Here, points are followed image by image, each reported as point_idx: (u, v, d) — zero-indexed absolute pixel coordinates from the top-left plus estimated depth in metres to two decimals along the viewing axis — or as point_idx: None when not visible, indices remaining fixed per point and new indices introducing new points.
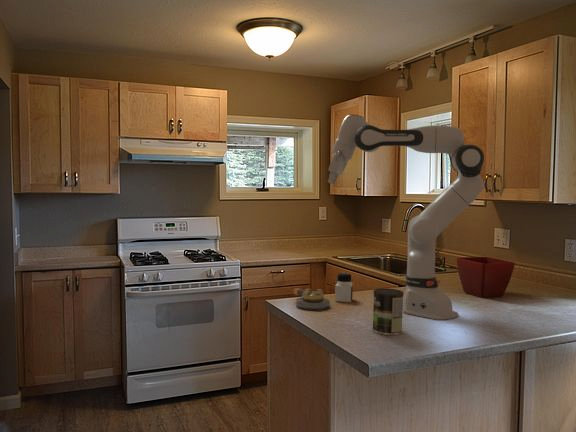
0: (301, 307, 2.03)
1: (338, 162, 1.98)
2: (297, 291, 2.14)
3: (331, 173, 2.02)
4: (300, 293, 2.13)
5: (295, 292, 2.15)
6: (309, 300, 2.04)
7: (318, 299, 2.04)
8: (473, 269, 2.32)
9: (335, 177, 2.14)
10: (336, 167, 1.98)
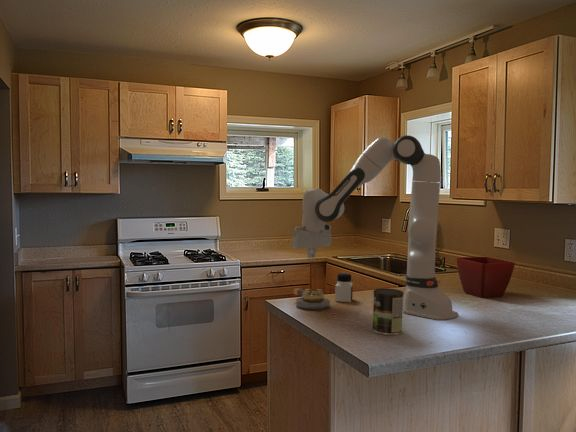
0: (301, 307, 2.03)
1: (296, 238, 2.09)
2: (297, 291, 2.14)
3: (306, 248, 2.15)
4: (300, 293, 2.13)
5: (295, 292, 2.15)
6: (309, 300, 2.04)
7: (318, 299, 2.04)
8: (473, 269, 2.32)
9: (314, 251, 2.17)
10: (295, 243, 2.09)
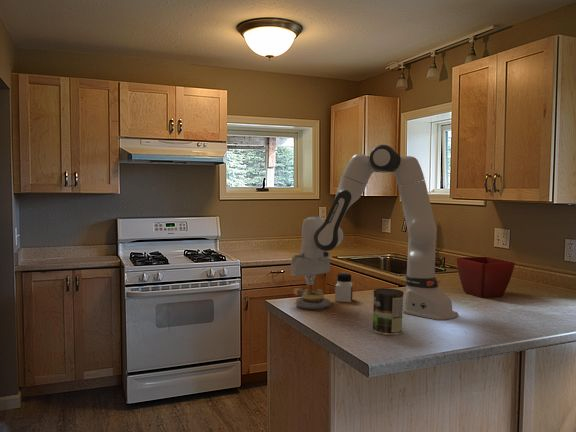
0: (301, 307, 2.03)
1: (295, 266, 2.10)
2: (297, 291, 2.14)
3: (305, 275, 2.16)
4: (300, 293, 2.13)
5: (295, 292, 2.15)
6: (309, 300, 2.04)
7: (318, 299, 2.04)
8: (473, 269, 2.32)
9: (312, 277, 2.18)
10: (294, 271, 2.10)
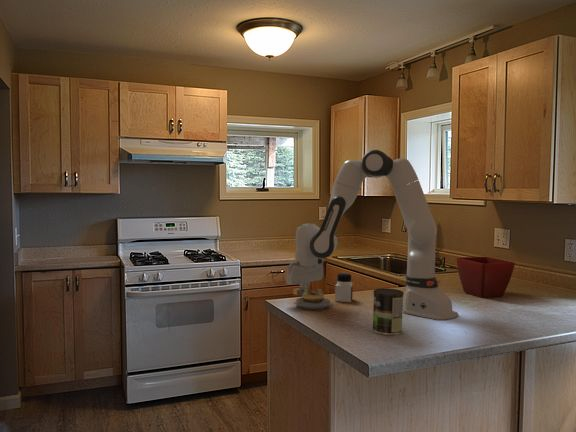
0: (301, 307, 2.03)
1: (291, 274, 2.07)
2: (297, 291, 2.14)
3: (300, 283, 2.14)
4: (300, 293, 2.13)
5: (295, 292, 2.15)
6: (309, 300, 2.04)
7: (318, 299, 2.04)
8: (473, 269, 2.32)
9: (306, 285, 2.16)
10: (290, 279, 2.07)
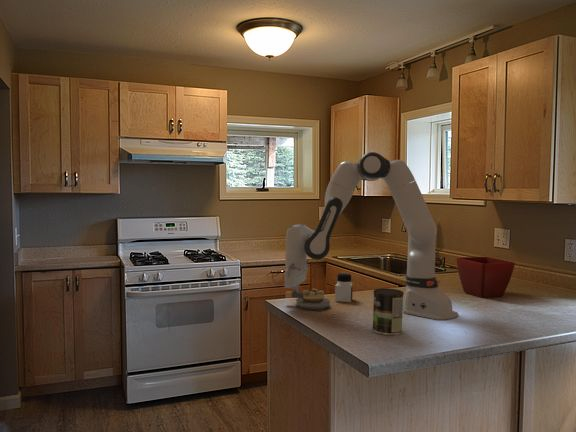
0: (301, 307, 2.03)
1: (291, 277, 2.01)
2: (291, 294, 2.08)
3: None
4: (296, 295, 2.08)
5: (288, 295, 2.09)
6: (317, 300, 2.04)
7: (323, 298, 2.06)
8: (473, 269, 2.32)
9: (296, 287, 2.12)
10: (290, 282, 2.01)
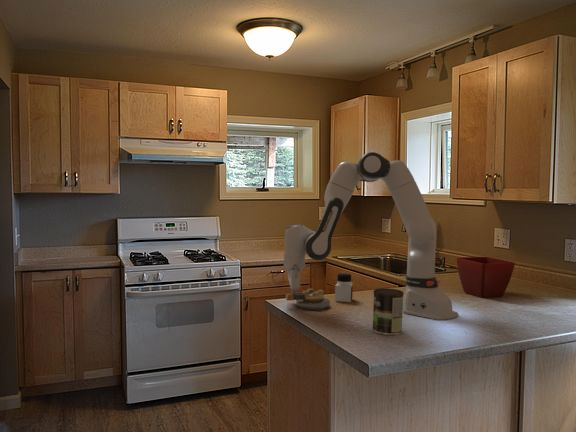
0: (301, 307, 2.03)
1: (298, 278, 1.99)
2: (293, 296, 2.04)
3: None
4: (297, 297, 2.05)
5: (290, 298, 2.04)
6: (321, 300, 2.05)
7: None
8: (473, 269, 2.32)
9: None
10: (298, 284, 1.98)
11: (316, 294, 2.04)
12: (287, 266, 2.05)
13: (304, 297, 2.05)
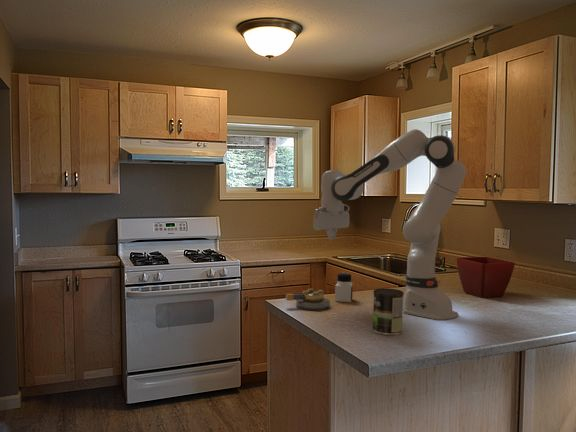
0: (301, 307, 2.03)
1: (318, 219, 2.08)
2: (293, 296, 2.04)
3: (327, 230, 2.14)
4: (297, 297, 2.05)
5: (290, 298, 2.04)
6: (321, 300, 2.05)
7: None
8: (473, 269, 2.32)
9: (334, 232, 2.16)
10: (317, 224, 2.08)
11: (316, 294, 2.04)
12: (321, 209, 2.15)
13: (304, 297, 2.05)
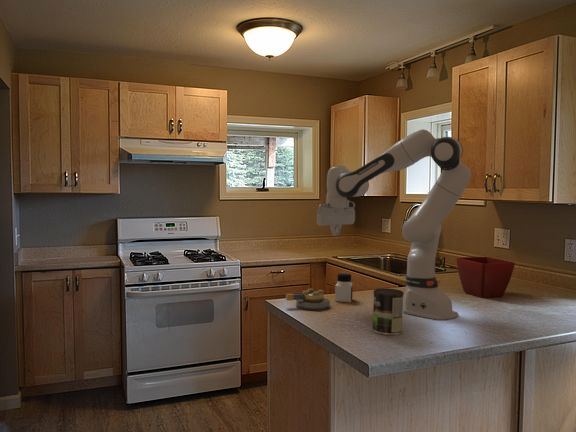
0: (301, 307, 2.03)
1: (321, 215, 2.09)
2: (293, 296, 2.04)
3: (330, 226, 2.15)
4: (297, 297, 2.05)
5: (290, 298, 2.04)
6: (321, 300, 2.05)
7: None
8: (473, 269, 2.32)
9: (338, 228, 2.17)
10: (320, 220, 2.09)
11: (316, 294, 2.04)
12: None
13: (304, 297, 2.05)
